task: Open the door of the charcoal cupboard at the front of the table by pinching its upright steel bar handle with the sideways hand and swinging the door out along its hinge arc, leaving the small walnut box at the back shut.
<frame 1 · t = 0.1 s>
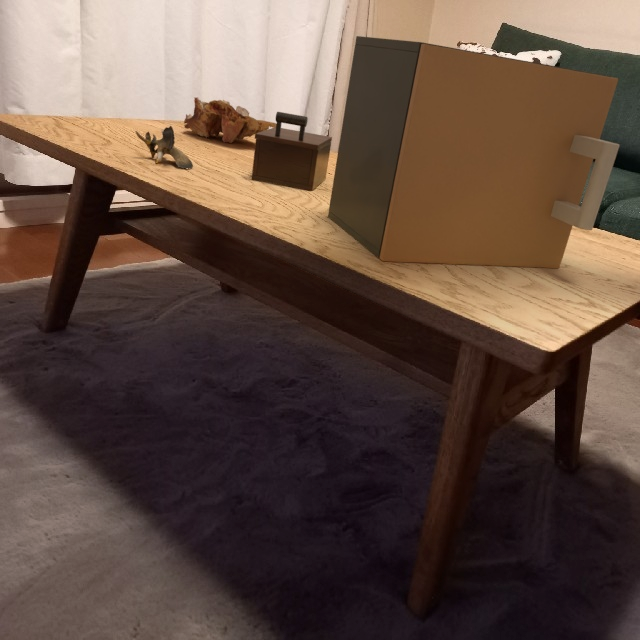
walnut box: (290, 179, 113), on the table
cupboard: (436, 240, 88), on the table
cupboard door: (513, 174, 73), point 12 cm above the table, hinge at 0.0°
walnut lid: (296, 126, 109), point 9 cm above the table, hinge at 0.0°
mineral formation: (227, 142, 142), on the table
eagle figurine: (166, 164, 110), on the table
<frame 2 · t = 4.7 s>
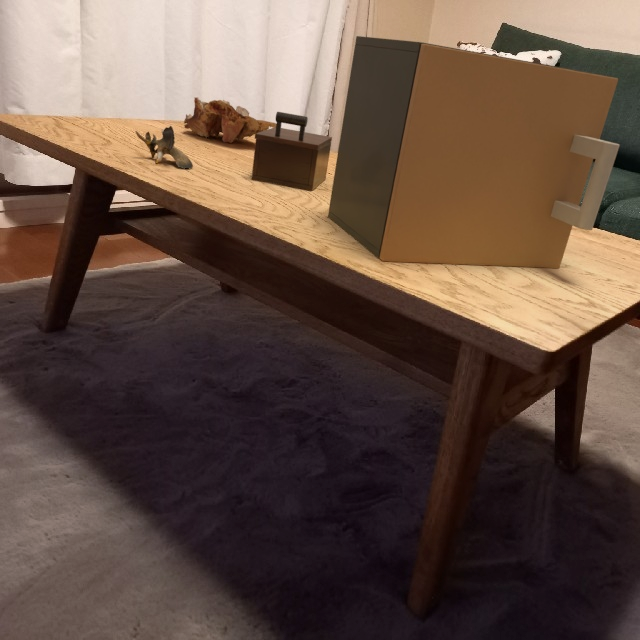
nothing on the table moved.
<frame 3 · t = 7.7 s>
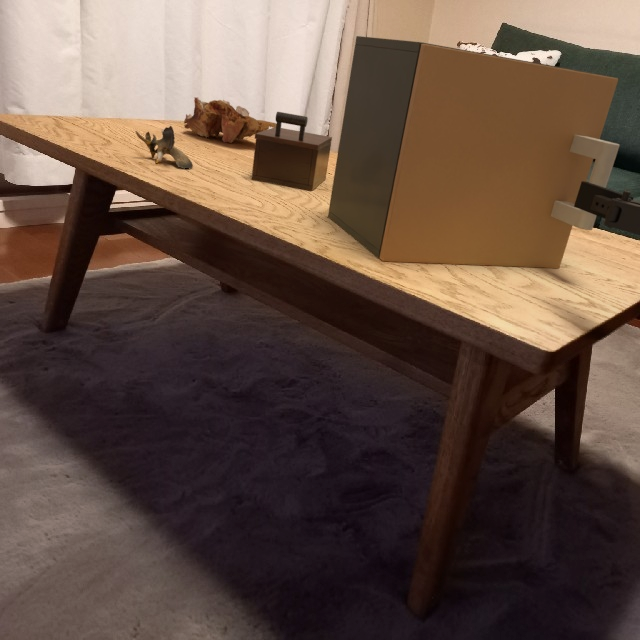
hand: (629, 198, 70), 12 cm above the table, tool horizontal, fingers open, 13 cm apart
nothing on the table moved.
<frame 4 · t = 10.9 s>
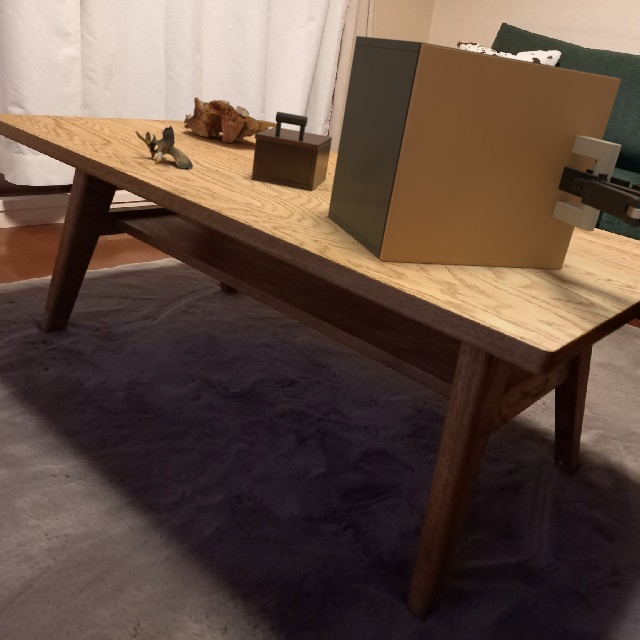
hand: (574, 179, 77), 12 cm above the table, tool horizontal, fingers open, 3 cm apart
cupboard door: (513, 175, 73), point 12 cm above the table, hinge at 1.0°, touching gripper
everything else where it was.
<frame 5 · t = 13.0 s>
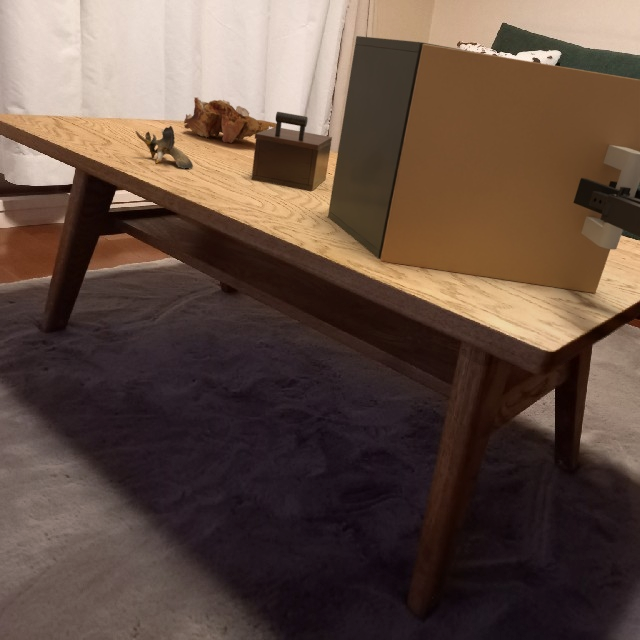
hand: (594, 192, 70), 12 cm above the table, tool horizontal, fingers open, 3 cm apart
cupboard door: (522, 182, 69), point 12 cm above the table, hinge at 20.0°, touching gripper
everything else where it was.
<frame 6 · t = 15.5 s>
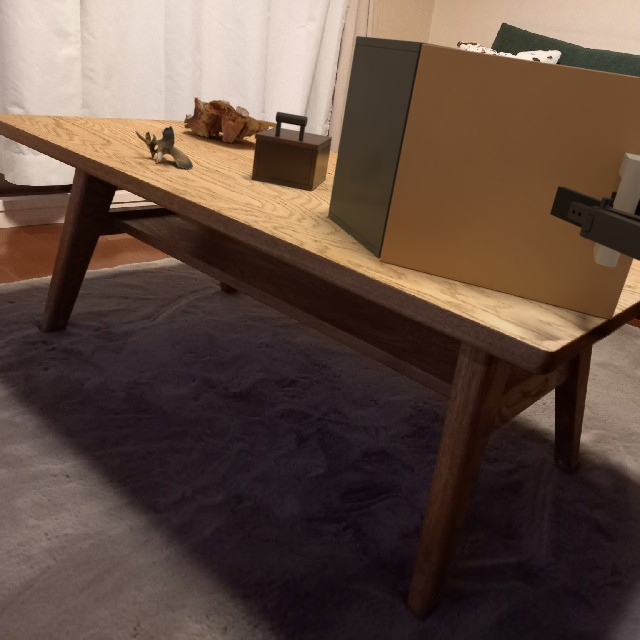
hand: (585, 203, 62), 12 cm above the table, tool horizontal, fingers open, 6 cm apart
cupboard door: (516, 187, 65), point 12 cm above the table, hinge at 39.8°
everything else where it was.
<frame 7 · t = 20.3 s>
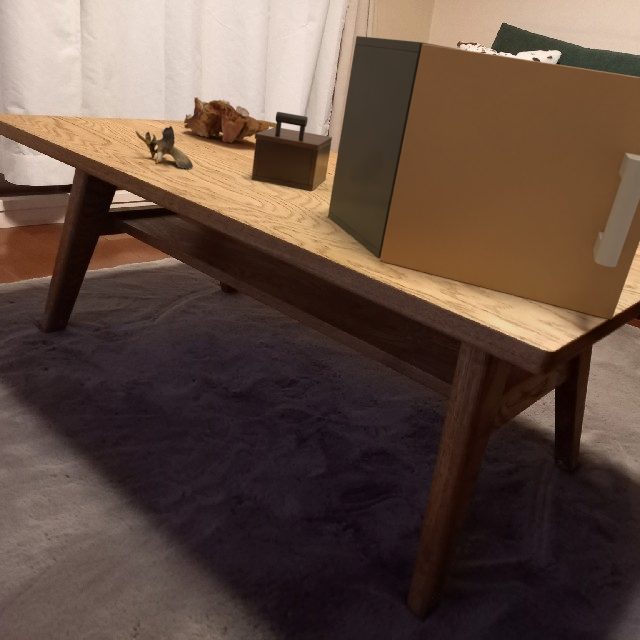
nothing on the table moved.
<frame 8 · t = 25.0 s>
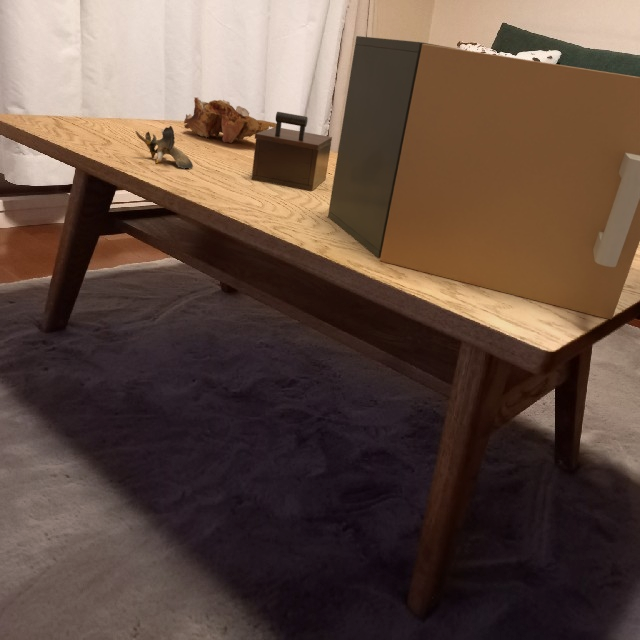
nothing on the table moved.
at the end: cupboard door at +40° (first picture: +0°); walnut lid at +0° (first picture: +0°) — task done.
